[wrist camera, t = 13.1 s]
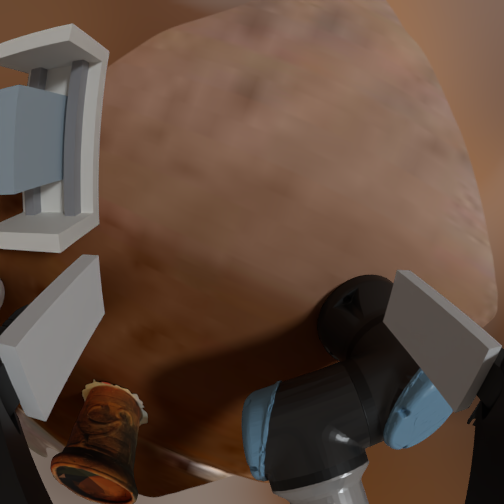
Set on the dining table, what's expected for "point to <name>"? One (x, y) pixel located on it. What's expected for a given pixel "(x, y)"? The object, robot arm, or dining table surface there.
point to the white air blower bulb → (1, 293)
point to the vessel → (102, 446)
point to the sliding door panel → (31, 138)
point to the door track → (58, 82)
